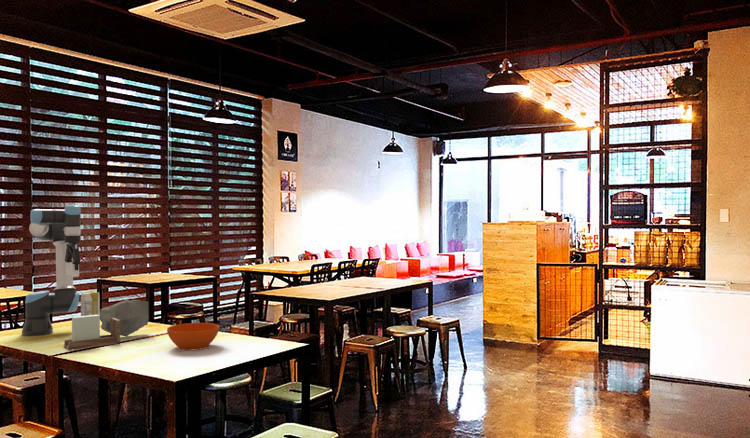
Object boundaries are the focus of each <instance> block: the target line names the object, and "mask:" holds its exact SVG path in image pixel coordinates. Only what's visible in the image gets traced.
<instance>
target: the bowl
mask: <svg viewBox="0 0 750 438" xmlns="http://www.w3.org/2000/svg"><path fill="white" fill-rule="evenodd" d="M166 330H167V331H166V332H167V334H168V337H169V339H170V340H171V341H172V343H174V345H175V346H176V347H178V349H179V350H182V349H184V351H192V350H191V349H197V350H201V349H200V348H203V349H206V348H208V347H209V345H210V344H212V343H213V341H214V340H215V339H216V337H217V336H218V333H219V331H220V325H219V324H216V323H210V322H193V323H192V322H191V323H190V322H189V323H181V324H175V325H171V326H169V327H167V328H166ZM207 346H208V347H207ZM205 347H206V348H205Z"/></svg>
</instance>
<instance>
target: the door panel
mask: <svg viewBox="0 0 750 438" xmlns="http://www.w3.org/2000/svg"><path fill="white" fill-rule="evenodd" d="M100 328H101V321H100V315H88V316H81V315H79V316H72V317H71V339H72V342H75V341H83V340H91V339H99V338H100V336H101V329H100Z"/></svg>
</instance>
